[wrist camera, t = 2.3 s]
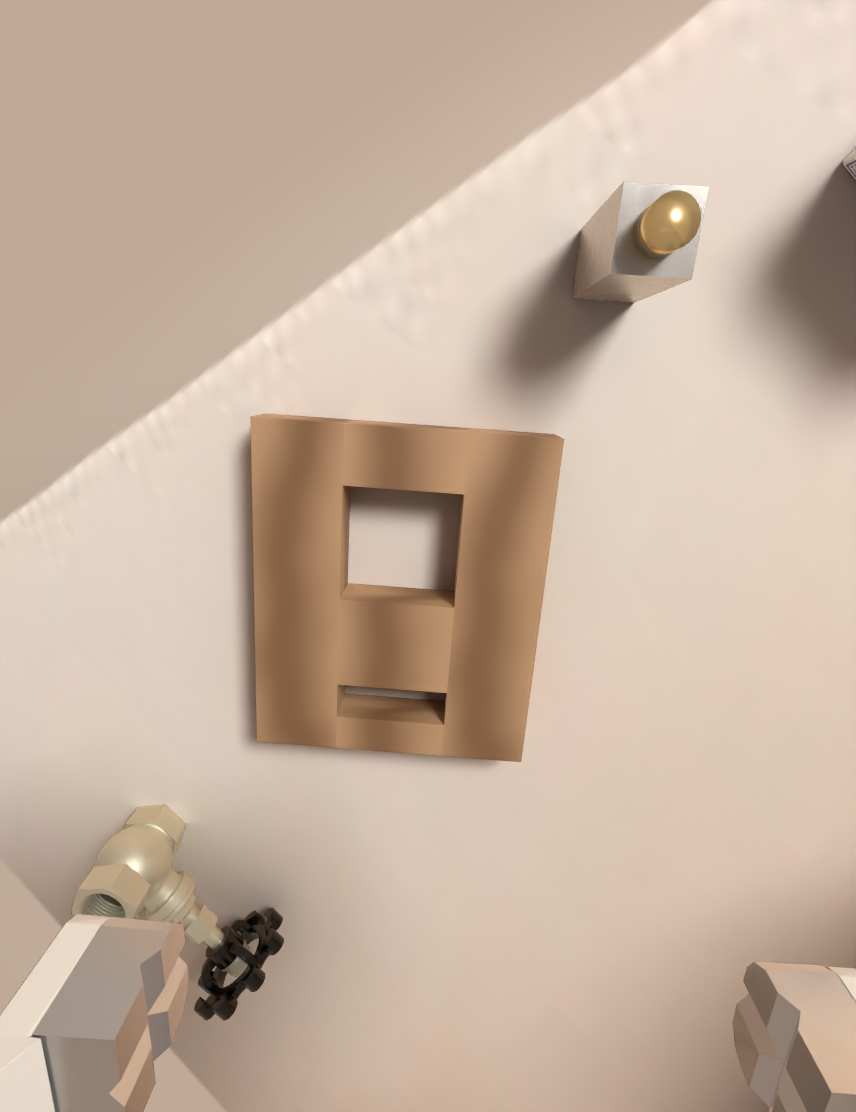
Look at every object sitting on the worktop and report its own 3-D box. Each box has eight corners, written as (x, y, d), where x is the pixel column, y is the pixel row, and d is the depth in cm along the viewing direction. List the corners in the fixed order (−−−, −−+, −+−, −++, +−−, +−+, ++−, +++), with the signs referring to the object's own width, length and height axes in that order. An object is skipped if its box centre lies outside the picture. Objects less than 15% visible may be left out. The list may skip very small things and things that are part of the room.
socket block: (554, 434, 30) (564, 439, 28) (516, 736, 36) (520, 761, 33) (265, 413, 30) (250, 416, 28) (269, 717, 36) (256, 741, 33)
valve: (102, 828, 39) (227, 941, 41) (34, 916, 32) (187, 1044, 35) (171, 777, 37) (297, 898, 40) (115, 859, 31) (268, 995, 34)
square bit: (645, 233, 28) (727, 172, 19) (634, 302, 28) (709, 271, 20) (581, 229, 28) (637, 166, 19) (572, 298, 28) (622, 265, 20)
